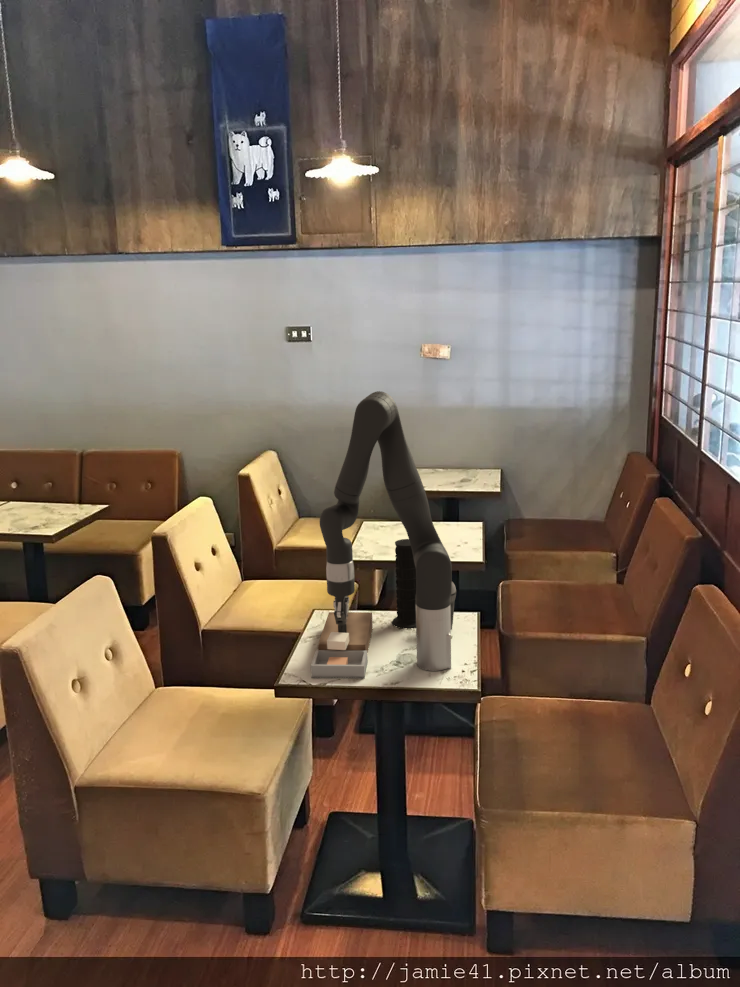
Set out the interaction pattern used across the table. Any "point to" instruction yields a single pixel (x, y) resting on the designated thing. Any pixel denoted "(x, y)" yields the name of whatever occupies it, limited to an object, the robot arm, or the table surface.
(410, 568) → the handle grip
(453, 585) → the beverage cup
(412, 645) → the table surface
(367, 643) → the walnut platform
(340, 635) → the cream tile
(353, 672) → the box
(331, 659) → the terracotta tile
